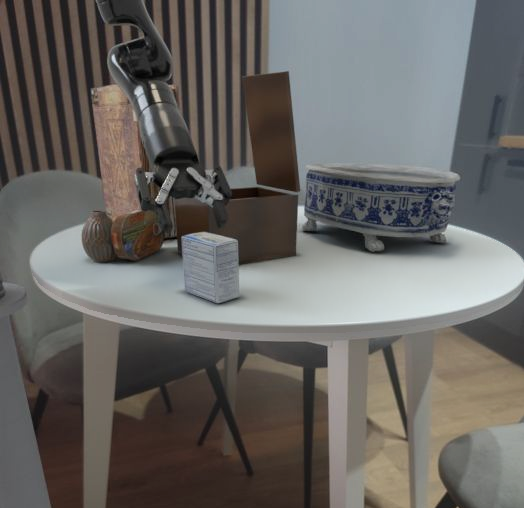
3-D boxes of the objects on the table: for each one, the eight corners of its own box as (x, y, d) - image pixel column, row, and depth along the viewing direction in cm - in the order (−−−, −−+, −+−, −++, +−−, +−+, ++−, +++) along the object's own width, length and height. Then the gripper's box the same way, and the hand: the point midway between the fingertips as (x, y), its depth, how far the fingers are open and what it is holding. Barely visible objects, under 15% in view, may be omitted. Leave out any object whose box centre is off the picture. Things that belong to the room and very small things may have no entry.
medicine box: (240, 298, 73) (239, 239, 70) (216, 305, 70) (214, 244, 67) (206, 286, 78) (204, 230, 75) (183, 292, 76) (180, 235, 72)
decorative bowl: (270, 226, 122) (271, 161, 116) (352, 216, 135) (357, 158, 129) (397, 266, 90) (408, 179, 83) (489, 249, 103) (505, 173, 96)
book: (187, 238, 109) (179, 84, 97) (148, 243, 104) (134, 81, 92) (141, 220, 128) (129, 89, 115) (106, 223, 123) (90, 87, 110)
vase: (76, 262, 90) (69, 213, 87) (98, 253, 96) (92, 207, 93) (109, 265, 89) (103, 215, 85) (130, 256, 95) (125, 209, 91)
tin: (126, 265, 89) (121, 217, 85) (111, 264, 90) (105, 216, 86) (167, 247, 102) (164, 205, 98) (153, 246, 102) (150, 204, 99)
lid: (284, 71, 82) (288, 70, 82) (241, 76, 92) (245, 75, 92) (296, 192, 91) (300, 191, 92) (256, 184, 102) (260, 183, 102)
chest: (210, 269, 87) (207, 202, 82) (177, 252, 98) (173, 192, 93) (296, 255, 97) (298, 194, 92) (258, 241, 107) (258, 186, 102)
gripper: (124, 123, 73) (154, 216, 68) (214, 124, 79) (247, 209, 74) (120, 159, 79) (147, 246, 75) (203, 157, 85) (233, 237, 81)
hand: (197, 227), depth 75 cm, fingers open, 8 cm apart
